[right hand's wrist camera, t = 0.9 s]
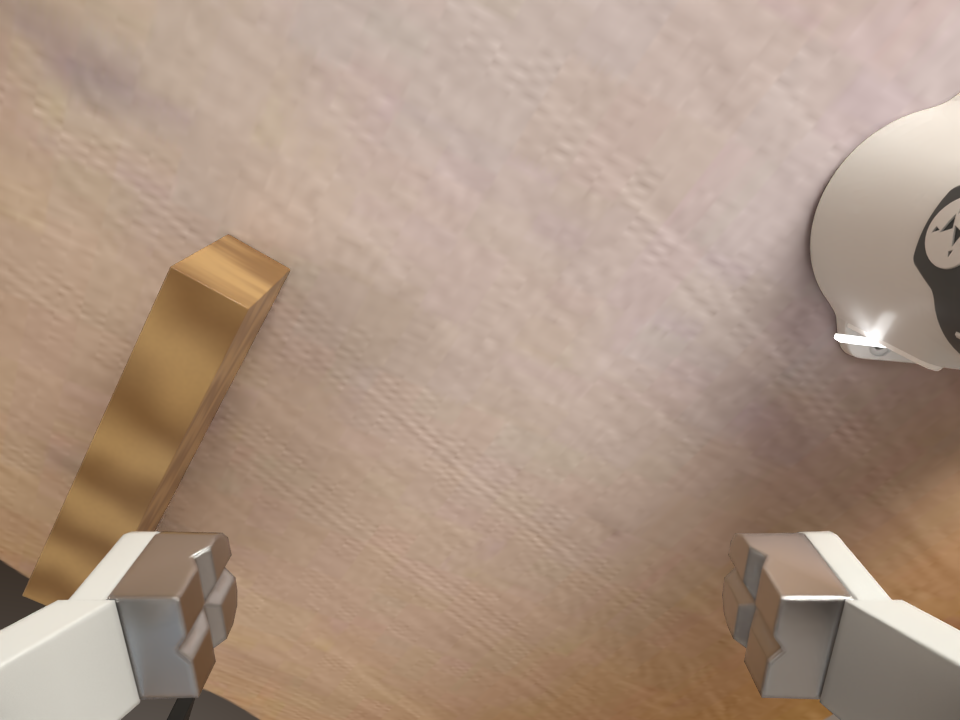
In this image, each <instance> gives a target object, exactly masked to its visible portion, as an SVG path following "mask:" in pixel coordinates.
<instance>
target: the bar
mask: <svg viewBox="0 0 960 720" xmlns="http://www.w3.org/2000/svg"><path fill="white" fill-rule="evenodd" d="M289 272H290V269H289V268H287V267H286V266H284V265H282V264H280V263H278V262H277V261H275V260H273V259H271V258H270V257H268V256H266V255H264V254H262V253H261V252H259V251H257V250H255V249H254V248H252V247H250V246H248V245H246V244H245V243H243V242H241V241H239V240H238V239H236V238H234V237H232V236H230V235H226V236H224V237H223V238H221V239H219V240H217V241H215V242H214V243H212V244H210V245H208V246H206V247H205V248H203V249H201V250H199V251H198V252H196V253H194V254H192V255H190V256H189V257H187V258H185V259H183V260H182V261H180V262H178V263H176V264H174V265H173V266H171V267H170V269H169V271H168V273H167V275H166V278H165V280H164V282H163V284H162V287H161V289H160V291H159V293H158V295H157V298H156V300H155V302H154V304H153V307H152V309H151V311H150V313H149V315H148V318H147V320H146V322H145V324H144V326H143V329H142V331H141V333H140V335H139V338H138V340H137V342H136V344H135V346H134V349H133V351H132V353H131V355H130V358H129V360H128V362H127V364H126V366H125V369H124V371H123V373H122V375H121V377H120V380H119V382H118V384H117V386H116V389H115V391H114V393H113V395H112V397H111V400H110V402H109V404H108V406H107V409H106V411H105V413H104V415H103V417H102V420H101V422H100V424H99V426H98V428H97V431H96V433H95V435H94V437H93V440H92V442H91V444H90V446H89V448H88V451H87V453H86V455H85V457H84V460H83V462H82V464H81V466H80V468H79V471H78V473H77V475H76V477H75V479H74V482H73V484H72V486H71V488H70V491H69V493H68V495H67V497H66V499H65V502H64V504H63V506H62V508H61V511H60V513H59V515H58V517H57V519H56V522H55V524H54V526H53V528H52V530H51V533H50V535H49V537H48V539H47V542H46V544H45V546H44V548H43V550H42V553H41V555H40V557H39V559H38V562H37V564H36V566H35V568H34V570H33V573H32V575H31V577H30V579H29V581H28V584H27V586H26V588H25V590H24V593H23V596H24V597H27V598H29V599H32V600H34V601H37V602H39V603H42V604H44V605H46V606H48V605H49V604H51V603H53V602H55V601H57V600H68V599H69V598H70V597H71V596H72V595H73V594H74V592H75V591H76V590H77V589H78V588H79V586H80V585H81V584H82V583H83V582H84V580H85V579H86V578H87V577H88V576H89V575H90V573H91V572H92V571H93V570H94V569H95V567H96V566H97V565H98V564H99V563H100V561H101V560H102V559H103V558H104V557H105V556H106V554H107V553H108V552H109V551H110V550H111V548H112V547H113V546H114V545H115V544H116V542H117V541H118V540H119V539H120V538H121V537H122V536H123V534H126V533H129V532H132V531H143V532H154V531H155V529H156V527H157V525H158V523H159V521H160V520H161V518H162V516H163V514H164V512H165V510H166V508H167V506H168V504H169V502H170V500H171V498H172V496H173V495H174V493H175V491H176V489H177V487H178V485H179V483H180V481H181V479H182V477H183V475H184V473H185V472H186V470H187V468H188V466H189V464H190V462H191V460H192V458H193V456H194V454H195V452H196V450H197V448H198V447H199V445H200V443H201V441H202V439H203V437H204V435H205V433H206V431H207V429H208V427H209V425H210V423H211V422H212V420H213V418H214V416H215V414H216V412H217V410H218V408H219V406H220V404H221V402H222V400H223V399H224V397H225V395H226V393H227V391H228V389H229V387H230V385H231V383H232V381H233V379H234V377H235V375H236V374H237V372H238V370H239V368H240V366H241V364H242V362H243V360H244V358H245V356H246V354H247V352H248V351H249V349H250V347H251V345H252V343H253V341H254V339H255V337H256V335H257V333H258V331H259V329H260V327H261V326H262V324H263V322H264V320H265V318H266V316H267V314H268V312H269V310H270V308H271V306H272V304H273V302H274V301H275V299H276V297H277V295H278V293H279V291H280V289H281V287H282V285H283V283H284V281H285V279H286V278H287V276H288V274H289Z"/></svg>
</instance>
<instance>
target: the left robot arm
mask: <svg viewBox="0 0 960 720" xmlns="http://www.w3.org/2000/svg"><path fill="white" fill-rule="evenodd" d="M194 700H195V698H177V700H176V702H175V704H174V706H173V708H172V710H171V712H170V714H169V717H168V718H167V720H189V717H190V713H191V710H192V707H193V704H194Z"/></svg>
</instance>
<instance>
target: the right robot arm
mask: <svg viewBox="0 0 960 720" xmlns="http://www.w3.org/2000/svg"><path fill="white" fill-rule="evenodd" d="M810 256H811V264H812V268H813V272H814V275H815V278H816V281H817V283H818V286H819V288H820V289H821V291H822V293H823V294H824V296H825V298H826V299H827V301H828V302H829V304H830V305H831V307H832V309H833V310H834V313H835V315H836V323H837V334H835V337H834V338H835V339H836V340H838V341H839V344H840V346H841V348H842V350H843V351H844V352H845V353H847V354H849V355H851V356H853V357H856V358H860V359H869V360H881V361H892V362H903V363H915V364H919V365H921V366H923V367H925V368H927V369H930V370H933V371H939V370H941V369H942V368H949V369H957V370H960V93H959V94H957V95H956V96H955V97H953V98H952V99H951V100H949V101H947V102H945V103H943V104H940V105H938V106H935V107H932V108H928V109H925V110H922V111H918V112H915V113H912V114H909V115H907V116H904V117H902V118H900V119H897V120H895V121H894V122H892V123H890V124H888V125H886V126H885V127H883V128H881V129H880V130H878V131H877V132H875V133H874V134H872V135H871V136H870V137H868V138H867V139H866V140H865V141H863V142H862V143H861V144H860V145H859V146H858V147H857V148H856V149H855V150H854V151H853V152H852V153H851V154H850V155H849V156H848V157H847V158H846V159H845V160H844V162H843V163H842V164H841V165H840V167H839V168H838V169H837V171H836V172H835V173H834V175H833V176H832V178H831V180H830V181H829V183H828V185H827V186H826V188H825V190H824V192H823V194H822V196H821V199H820V201H819V204H818V206H817V209H816V212H815V216H814V219H813V224H812V229H811V237H810ZM231 555H232V554H231V550H230V545H229V540H228V537H227V536H226V535H224V534H223V533H206V532H143V531H132V532H129V533H126V534H123V536H122V537H121V538H120V539H119V540H118V541H117V542H116V544H115V545H114V546H113V547H112V548H111V550H110V551H109V552H108V553H107V554H106V556H105V557H104V558H103V559H102V560H101V561H100V563H99V564H98V565H97V566H96V567H95V569H94V570H93V571H92V572H91V573H90V575H89V576H88V577H87V578H86V579H85V580H84V582H83V583H82V584H81V585H80V586H79V588H78V589H77V590H76V591H75V592H74V594H73V595H72V596H71V597H70V598H69V599H68V600H57V601H55V602H53V603H51V604H49V605H48V606H46V607H44V608H42V609H40V610H38V611H36V612H34V613H32V614H31V615H29V616H27V617H25V618H23V619H21V620H19V621H17V622H15V623H14V624H12V625H10V626H8V627H6V628H4V629H2V630H0V720H120V719H122V718H123V717H124V716H125V715H126V714H127V713H129V712H130V711H131V710H132V709H133V708H134V707H135V706H137V705H138V704H139V703H140V699H164V698H198V697H199V695H200V693H201V691H202V689H203V687H204V685H205V683H206V681H207V679H208V677H209V674H210V672H211V670H212V668H213V666H214V664H215V662H216V660H215V654H214V649H213V648H215V647H216V646H217V645H219V644H220V643H221V642H223V641H224V640H225V639H227V637H228V634H229V632H230V630H231V628H232V626H233V623H234V618H235V613H236V608H237V585H236V578H235V577H234V576H233V575H232V574H231V573H230V572H229V571H228V570H227V569H226V568H225V566H226V564H227V562H228V560H229V559H230V557H231ZM728 555H729V557H730V559H731V560H732V562H733V564H734V566H735V568H734V569H733V570H732V571H731V572H730V573H729V574H728V575H727V576H726V577H725V578H724V586H723V594H722V596H723V608H724V615H725V618H726V622H727V626H728V628H729V630H730V632H731V635H732V637H733V639H735V640H736V641H737V642H739V643H740V644H741V645H743V646H744V647H745V648H747V649H746V654H745V660H744V662H745V664H746V666H747V668H748V670H749V672H750V674H751V676H752V679H753V681H754V683H755V685H756V687H757V689H758V691H759V693H760V695H761V697H762V698H795V699H820V703H821V704H823V705H824V706H825V707H826V708H827V709H828V710H829V711H831V712H832V713H833V714H834V715H835V716H836V717H838V718H839V719H840V720H960V630H958V629H956V628H954V627H952V626H950V625H948V624H946V623H944V622H943V621H941V620H939V619H937V618H935V617H933V616H931V615H929V614H928V613H926V612H924V611H922V610H920V609H918V608H916V607H914V606H912V605H911V604H909V603H907V602H905V601H903V600H891V598H890V597H889V596H888V595H887V594H886V592H885V591H884V590H883V589H882V588H881V586H880V585H879V584H878V583H877V582H876V581H875V579H874V578H873V577H872V576H871V575H870V573H869V572H868V571H867V570H866V569H865V567H864V566H863V565H862V564H861V563H860V562H859V560H858V559H857V558H856V557H855V556H854V554H853V553H852V552H851V551H850V550H849V549H848V547H847V546H846V545H845V544H844V543H843V541H842V540H841V539H840V538H839V537H838V535H836V534H834V533H832V532H830V531H815V532H798V533H736V534H734V536H733V538H732V540H731V543H730V549H729V554H728Z"/></svg>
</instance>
